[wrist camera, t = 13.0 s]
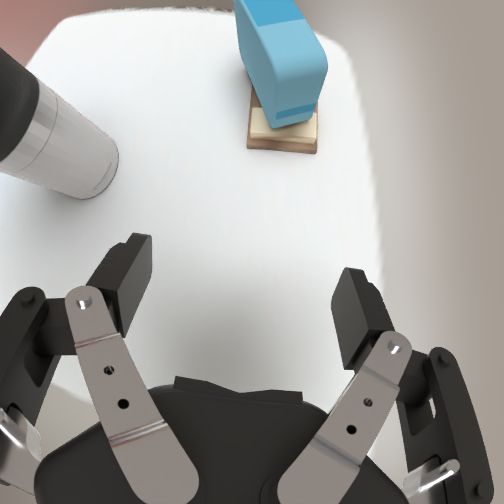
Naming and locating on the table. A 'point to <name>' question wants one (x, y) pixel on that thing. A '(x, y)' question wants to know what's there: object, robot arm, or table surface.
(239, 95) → the table surface
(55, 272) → the table surface
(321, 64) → the data package
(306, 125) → the display stand
